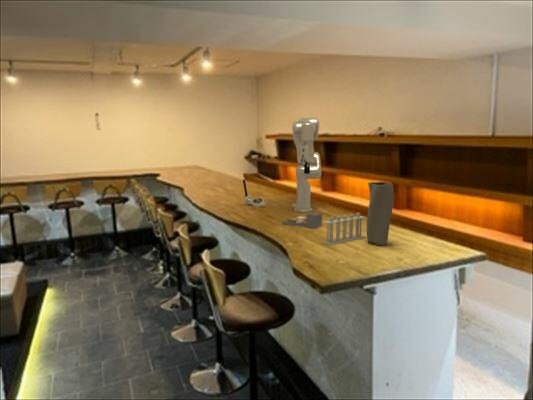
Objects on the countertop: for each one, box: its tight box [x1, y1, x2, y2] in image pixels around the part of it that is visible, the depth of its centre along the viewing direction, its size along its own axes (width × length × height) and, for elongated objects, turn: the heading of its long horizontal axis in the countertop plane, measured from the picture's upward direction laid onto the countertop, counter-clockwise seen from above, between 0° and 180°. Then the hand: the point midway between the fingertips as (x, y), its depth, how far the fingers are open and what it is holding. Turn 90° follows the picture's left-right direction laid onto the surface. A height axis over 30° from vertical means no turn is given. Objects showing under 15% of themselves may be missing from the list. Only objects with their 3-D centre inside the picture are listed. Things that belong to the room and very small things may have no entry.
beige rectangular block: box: [295, 215, 306, 224], centre depth 241 cm, size 12×4×5 cm, turn 56°
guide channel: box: [281, 219, 306, 228], centre depth 245 cm, size 16×6×2 cm, turn 58°
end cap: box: [305, 212, 323, 230], centre depth 238 cm, size 6×8×8 cm
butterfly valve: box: [242, 179, 267, 208], centre depth 303 cm, size 9×20×17 cm
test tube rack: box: [322, 212, 367, 246], centre depth 209 cm, size 25×4×13 cm, turn 122°
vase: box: [366, 181, 395, 246], centre depth 201 cm, size 12×12×30 cm
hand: (306, 173), depth 253 cm, fingers closed
